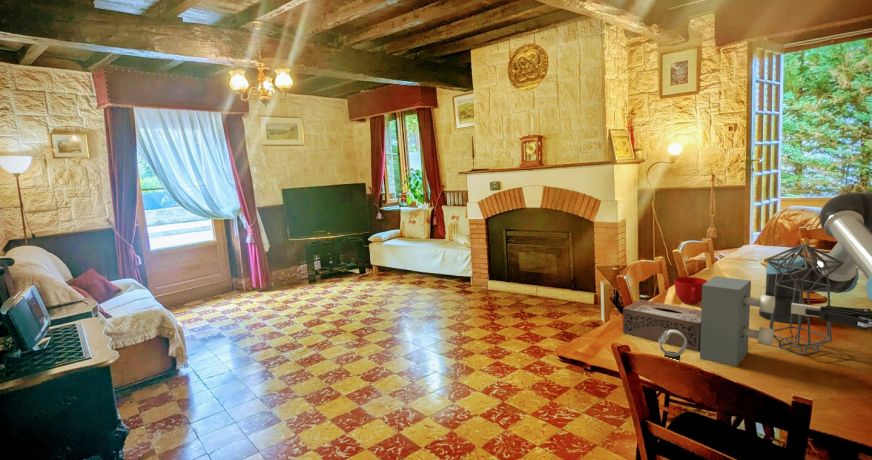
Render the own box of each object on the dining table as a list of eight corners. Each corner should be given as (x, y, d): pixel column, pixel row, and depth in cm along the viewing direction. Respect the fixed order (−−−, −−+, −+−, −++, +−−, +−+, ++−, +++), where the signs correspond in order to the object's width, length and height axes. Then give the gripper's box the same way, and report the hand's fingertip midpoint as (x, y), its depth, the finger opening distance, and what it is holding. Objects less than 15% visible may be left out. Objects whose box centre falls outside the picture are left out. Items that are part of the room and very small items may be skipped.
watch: (658, 359, 150) (658, 326, 149) (686, 363, 146) (687, 329, 145) (656, 366, 145) (657, 332, 144) (686, 370, 142) (687, 335, 140)
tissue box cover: (622, 334, 174) (623, 308, 172) (640, 324, 183) (640, 299, 182) (698, 352, 154) (699, 323, 153) (713, 340, 164) (714, 312, 163)
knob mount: (747, 352, 152) (750, 280, 149) (736, 366, 142) (739, 289, 139) (713, 345, 159) (715, 276, 156) (699, 358, 149) (702, 285, 146)
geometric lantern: (841, 354, 148) (849, 245, 142) (804, 363, 143) (811, 251, 138) (791, 337, 163) (796, 237, 157) (756, 344, 158) (760, 243, 153)
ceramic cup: (676, 308, 199) (676, 285, 198) (672, 297, 215) (673, 276, 213) (711, 310, 194) (712, 287, 193) (705, 299, 210) (705, 277, 209)
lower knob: (773, 342, 143) (773, 326, 142) (769, 347, 139) (770, 331, 139) (738, 336, 149) (739, 321, 149) (734, 340, 146) (735, 325, 145)
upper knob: (774, 311, 141) (775, 294, 141) (771, 315, 138) (772, 298, 137) (740, 305, 148) (740, 290, 147) (735, 309, 144) (736, 293, 144)
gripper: (907, 304, 124) (796, 290, 140) (907, 317, 115) (788, 300, 131) (905, 331, 125) (794, 314, 141) (904, 346, 116) (786, 326, 132)
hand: (791, 308), depth 136 cm, fingers closed
